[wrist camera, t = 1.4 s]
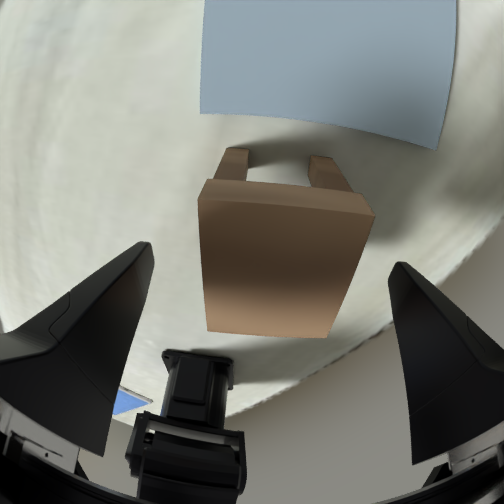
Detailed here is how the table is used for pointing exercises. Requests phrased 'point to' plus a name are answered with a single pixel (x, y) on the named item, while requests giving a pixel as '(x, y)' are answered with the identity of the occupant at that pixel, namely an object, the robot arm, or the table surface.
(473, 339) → the robot arm
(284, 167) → the table surface
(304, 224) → the walnut stool
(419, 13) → the slate mat
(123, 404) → the tablet computer
